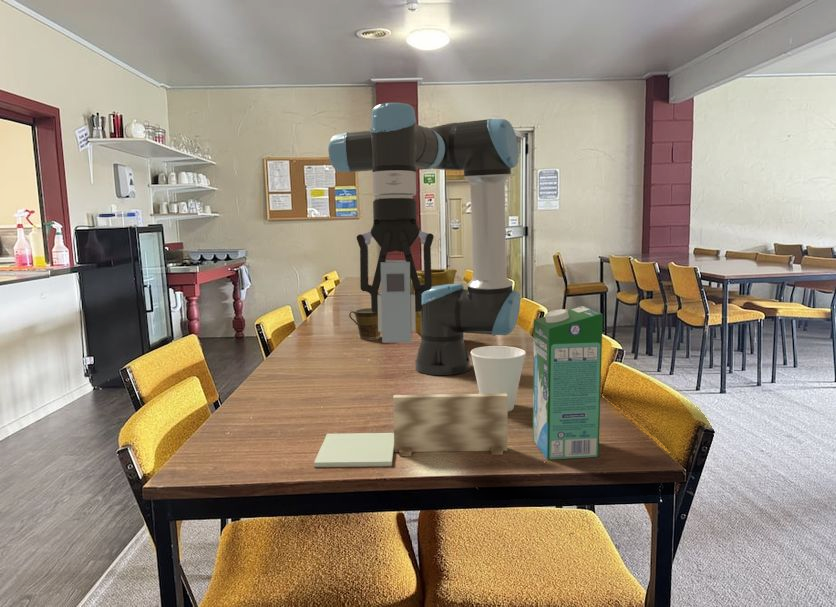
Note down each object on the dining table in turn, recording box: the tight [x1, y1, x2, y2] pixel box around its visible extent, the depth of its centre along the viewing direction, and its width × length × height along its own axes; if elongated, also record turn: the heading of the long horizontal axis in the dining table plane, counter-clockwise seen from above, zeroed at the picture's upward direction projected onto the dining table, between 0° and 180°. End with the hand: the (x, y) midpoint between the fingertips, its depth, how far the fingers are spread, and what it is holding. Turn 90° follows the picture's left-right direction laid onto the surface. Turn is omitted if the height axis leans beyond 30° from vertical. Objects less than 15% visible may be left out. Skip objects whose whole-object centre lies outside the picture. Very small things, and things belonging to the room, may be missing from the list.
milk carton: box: [532, 305, 604, 460], centre depth 99 cm, size 9×9×25 cm
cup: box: [470, 345, 527, 412], centre depth 123 cm, size 12×12×12 cm
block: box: [380, 260, 413, 344], centre depth 101 cm, size 5×5×14 cm
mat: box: [313, 432, 395, 468], centre depth 101 cm, size 13×13×1 cm
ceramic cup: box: [348, 307, 381, 341], centre depth 199 cm, size 13×10×10 cm
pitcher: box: [411, 268, 458, 337], centre depth 188 cm, size 17×19×25 cm
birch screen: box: [392, 393, 509, 457], centre depth 101 cm, size 20×5×10 cm, turn 89°
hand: (397, 329), depth 101 cm, fingers closed on block, 5 cm apart
